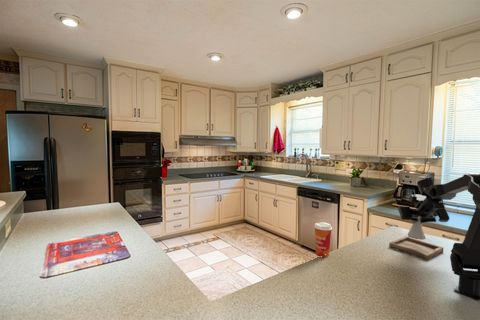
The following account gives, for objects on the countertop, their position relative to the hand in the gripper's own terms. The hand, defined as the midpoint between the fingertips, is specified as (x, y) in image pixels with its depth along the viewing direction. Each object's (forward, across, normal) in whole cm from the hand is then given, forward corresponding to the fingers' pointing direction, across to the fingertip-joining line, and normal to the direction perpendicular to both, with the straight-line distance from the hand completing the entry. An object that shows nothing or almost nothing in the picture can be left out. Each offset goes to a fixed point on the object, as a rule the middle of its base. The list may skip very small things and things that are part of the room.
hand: (415, 222), depth 117 cm
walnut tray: (+8, 0, +10) cm, 13 cm away
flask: (+4, 0, +6) cm, 7 cm away
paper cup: (-2, +45, +20) cm, 49 cm away
